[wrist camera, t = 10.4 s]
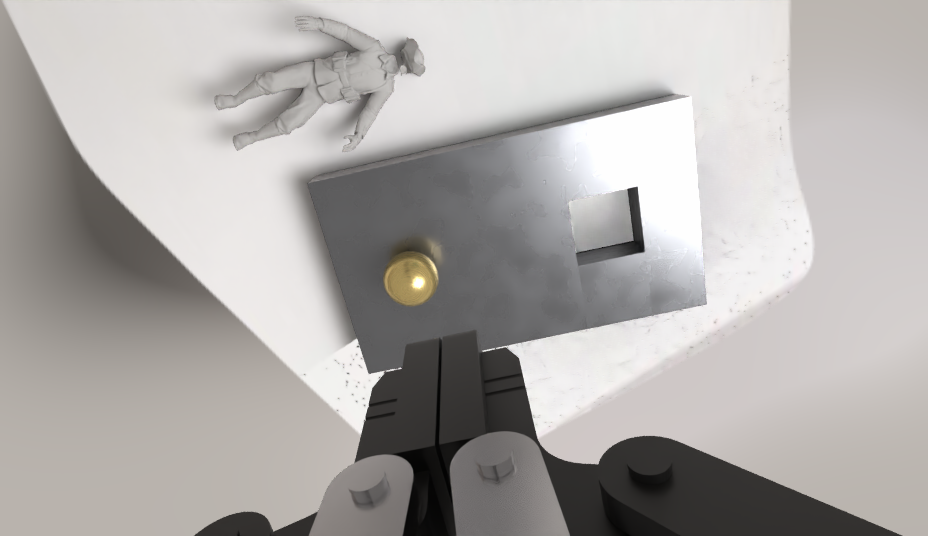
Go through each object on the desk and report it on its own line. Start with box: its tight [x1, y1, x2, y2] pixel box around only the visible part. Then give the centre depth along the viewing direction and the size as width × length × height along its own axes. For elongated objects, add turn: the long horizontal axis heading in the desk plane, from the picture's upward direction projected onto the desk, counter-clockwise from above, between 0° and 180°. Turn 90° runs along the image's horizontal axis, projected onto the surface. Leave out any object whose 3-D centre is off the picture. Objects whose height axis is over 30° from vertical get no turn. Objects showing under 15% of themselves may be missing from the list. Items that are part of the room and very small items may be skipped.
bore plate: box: [307, 94, 707, 374], centre depth 38 cm, size 14×24×2 cm, turn 102°
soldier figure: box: [214, 16, 425, 152], centre depth 33 cm, size 8×5×12 cm
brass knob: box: [383, 251, 439, 306], centre depth 35 cm, size 4×4×4 cm
